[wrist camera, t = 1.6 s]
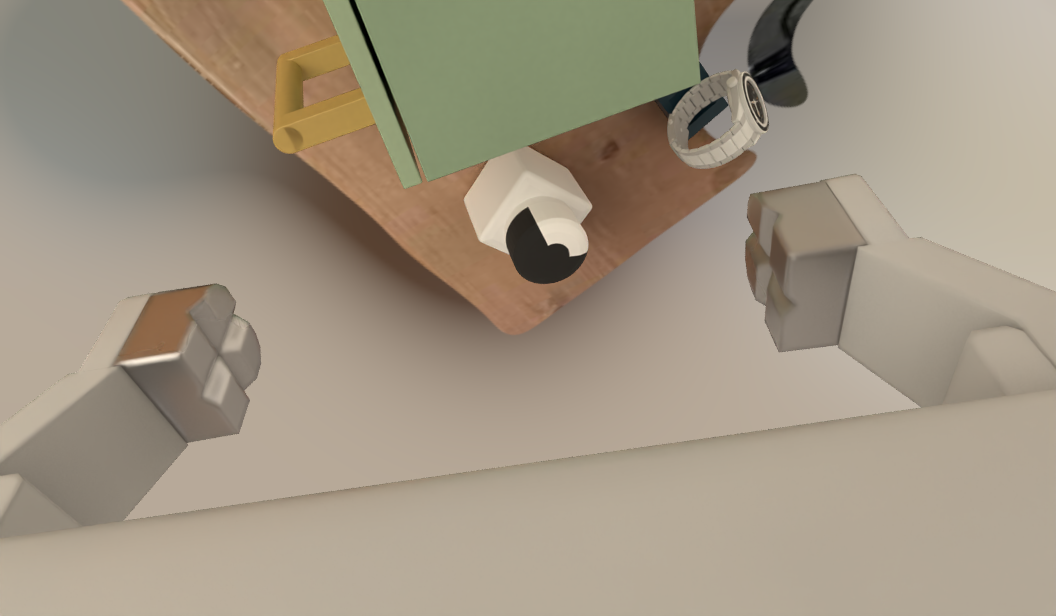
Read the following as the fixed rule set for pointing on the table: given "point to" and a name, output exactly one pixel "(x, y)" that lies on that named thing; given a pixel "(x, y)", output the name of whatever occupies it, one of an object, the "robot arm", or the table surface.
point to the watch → (706, 102)
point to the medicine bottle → (531, 214)
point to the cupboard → (523, 68)
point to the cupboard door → (348, 109)
